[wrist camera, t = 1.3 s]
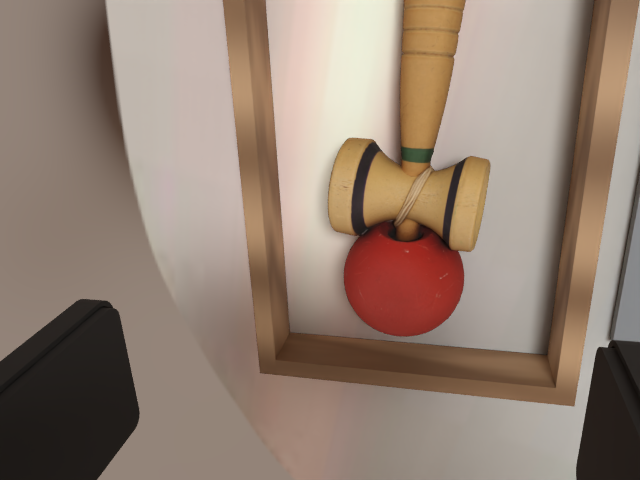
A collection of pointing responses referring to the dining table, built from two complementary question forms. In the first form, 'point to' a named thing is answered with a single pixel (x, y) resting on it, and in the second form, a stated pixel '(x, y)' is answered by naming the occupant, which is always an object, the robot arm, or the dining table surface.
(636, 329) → the mat
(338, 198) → the kendama
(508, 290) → the dining table surface
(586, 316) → the wooden frame
